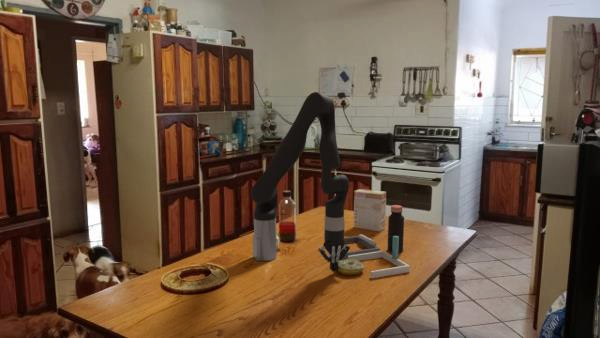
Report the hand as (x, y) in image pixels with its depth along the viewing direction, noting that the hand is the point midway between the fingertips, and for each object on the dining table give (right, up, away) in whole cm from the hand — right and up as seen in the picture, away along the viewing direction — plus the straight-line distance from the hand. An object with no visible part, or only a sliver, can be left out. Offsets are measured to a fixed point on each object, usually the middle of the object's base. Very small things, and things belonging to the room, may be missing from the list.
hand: (333, 270), depth 176 cm
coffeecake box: (+23, +8, +61) cm, 66 cm away
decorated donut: (+7, -1, +3) cm, 7 cm away
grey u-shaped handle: (+10, +3, +28) cm, 30 cm away
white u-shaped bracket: (+18, 0, +8) cm, 20 cm away
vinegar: (+29, +3, +27) cm, 40 cm away
